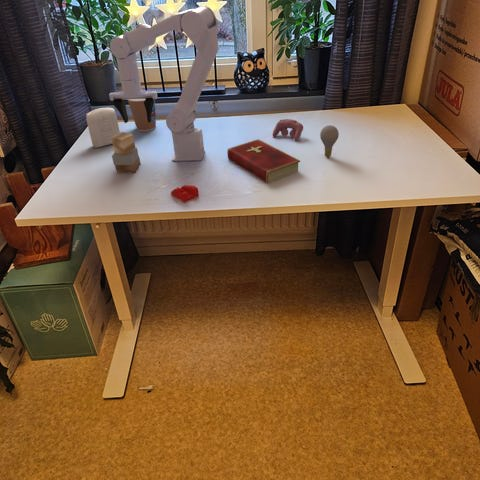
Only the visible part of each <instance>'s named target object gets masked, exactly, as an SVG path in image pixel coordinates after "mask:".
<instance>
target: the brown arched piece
mask: <svg viewBox="0 0 480 480" xmlns="http://www.w3.org/2000/svg"><path fill="white" fill-rule="evenodd" d="M288 129H291V130H290V132H289V130H288ZM272 131H273V132H272V138H276V137H277V136H278V135H279V134H280V133H281V136H284V137H286V136H288V135H289V136H290V137H291V138H294V139H293V140H294V142H298V141H299V140H300V138H301V136H302V132H303V131H304V125H303V124H302V123H300V122H299V121H298V120H295V119H292V118H289V119H288V118H285V119H284V118H283V119H279V121H277V123H276V124H275V126H274V129H273V130H272Z"/></svg>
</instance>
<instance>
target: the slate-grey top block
mask: <svg viewBox="0 0 480 480" xmlns="http://www.w3.org/2000/svg"><path fill="white" fill-rule="evenodd" d="M135 148H136V150H135V151H133V152H131V153H129V154H127V155H126V156H125V155H121V154H117V153H115V152H114V151H113V153H112V155H111V158H112V162H113V165H114V166H115V165H133V164H134V163H135V161H136V160H137V158H138V157H139V158H140V156H139V150H138V147H135Z"/></svg>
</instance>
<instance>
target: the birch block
mask: <svg viewBox="0 0 480 480" xmlns="http://www.w3.org/2000/svg"><path fill="white" fill-rule="evenodd" d="M133 134H134V133H133ZM133 134H132V133H129V132H123V131H120V133H119V134H117V135H115V136H112V137H111V139H112V143H113V144H112V147H113V153H114V152H115V153H117V154H121V155H125V156H126V155H127V154H129V153H131V152H133V151H135V150H136V148H137V147H136V144H135V139H134V135H133Z"/></svg>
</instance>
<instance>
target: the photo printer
mask: <svg viewBox="0 0 480 480" xmlns="http://www.w3.org/2000/svg"><path fill="white" fill-rule="evenodd" d="M85 118H86V123H87V127H88V131H89V136H90V140H91V144H92V147H93V148H95V149H97V148H100V147H105V146H109V145H113V143H112V139H111V137H112V136H115V135H117V134H119V133H121V131H120V126H119V121H118V116H117V113H116V110H115V108H113V107H100V108H99V107H98V108H96V109H93V110H91V111H90V112H87V113H86V114H85Z"/></svg>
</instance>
